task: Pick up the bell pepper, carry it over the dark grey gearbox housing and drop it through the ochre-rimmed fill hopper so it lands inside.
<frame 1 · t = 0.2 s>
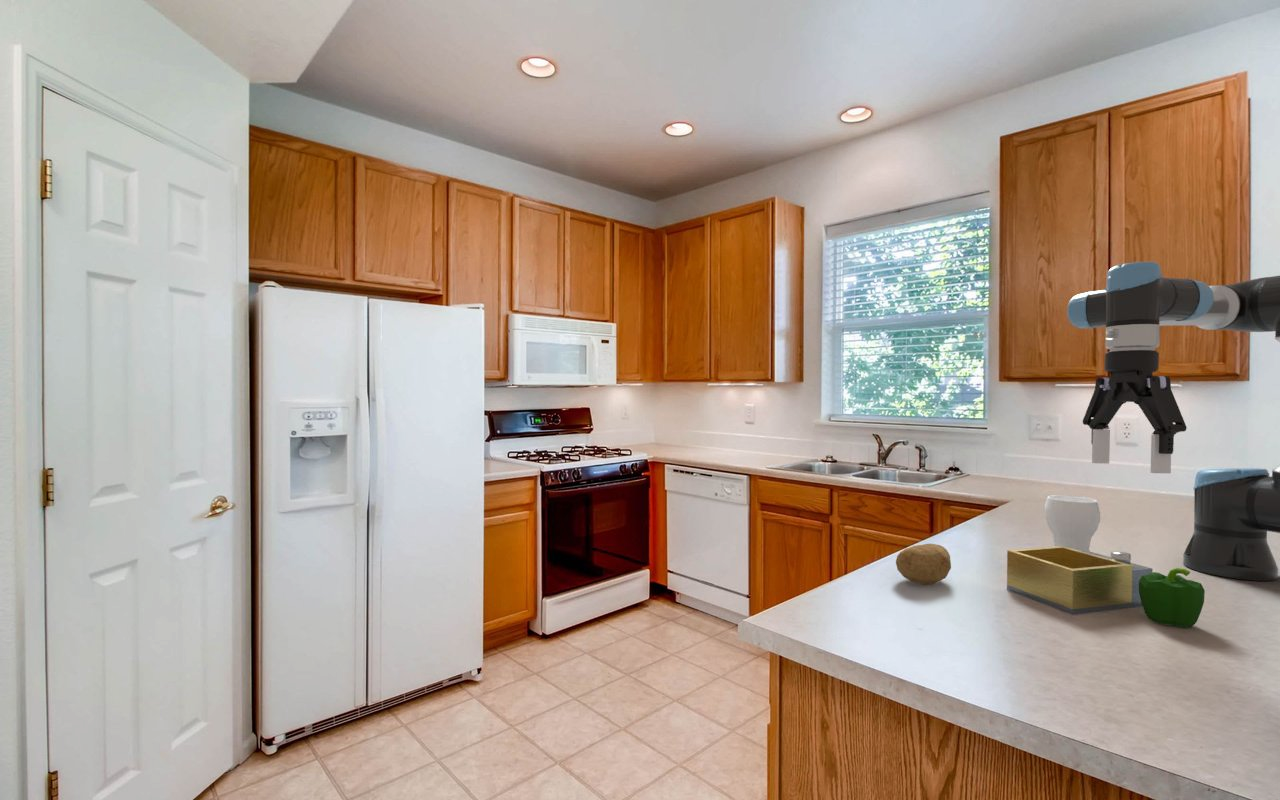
hand: (1128, 468, 107), 27 cm above the counter, fingers open, 13 cm apart
cup: (1071, 562, 140), on the counter
gearbox: (1066, 598, 116), on the counter
bell pepper: (1169, 624, 104), on the counter
potato: (924, 583, 125), on the counter
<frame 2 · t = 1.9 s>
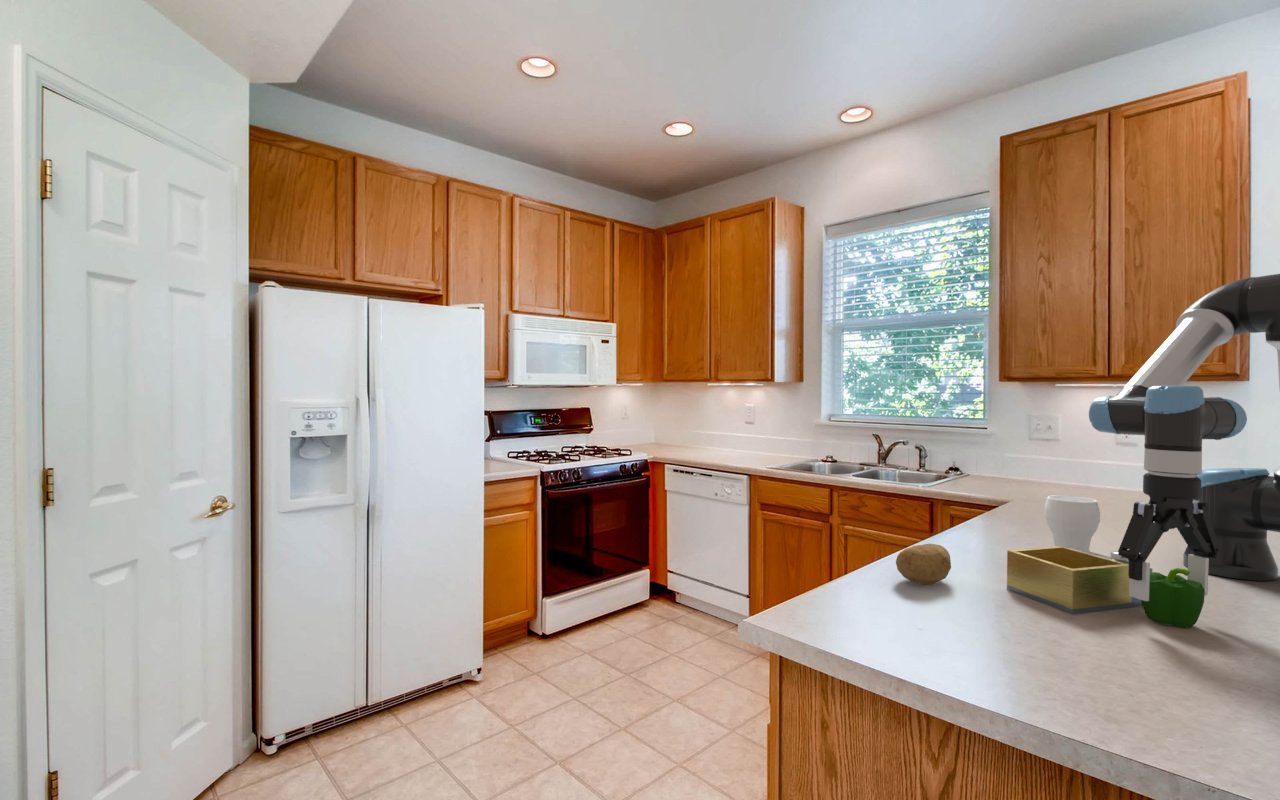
hand: (1168, 595, 103), 5 cm above the counter, fingers open, 13 cm apart
nothing on the counter moved.
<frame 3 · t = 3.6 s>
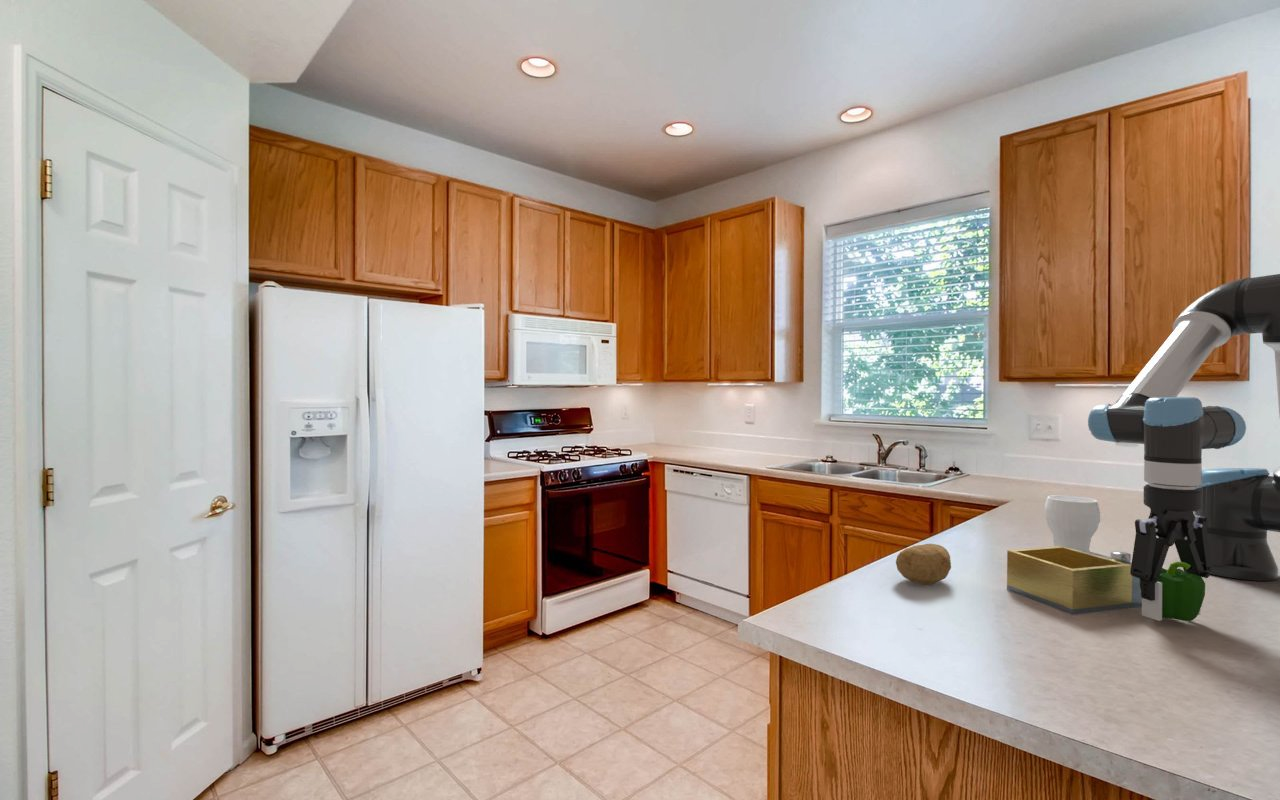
hand: (1171, 614, 104), 1 cm above the counter, fingers closed on bell pepper, 8 cm apart
bell pepper: (1170, 617, 104), point 1 cm above the counter, touching gripper
everything else where it was.
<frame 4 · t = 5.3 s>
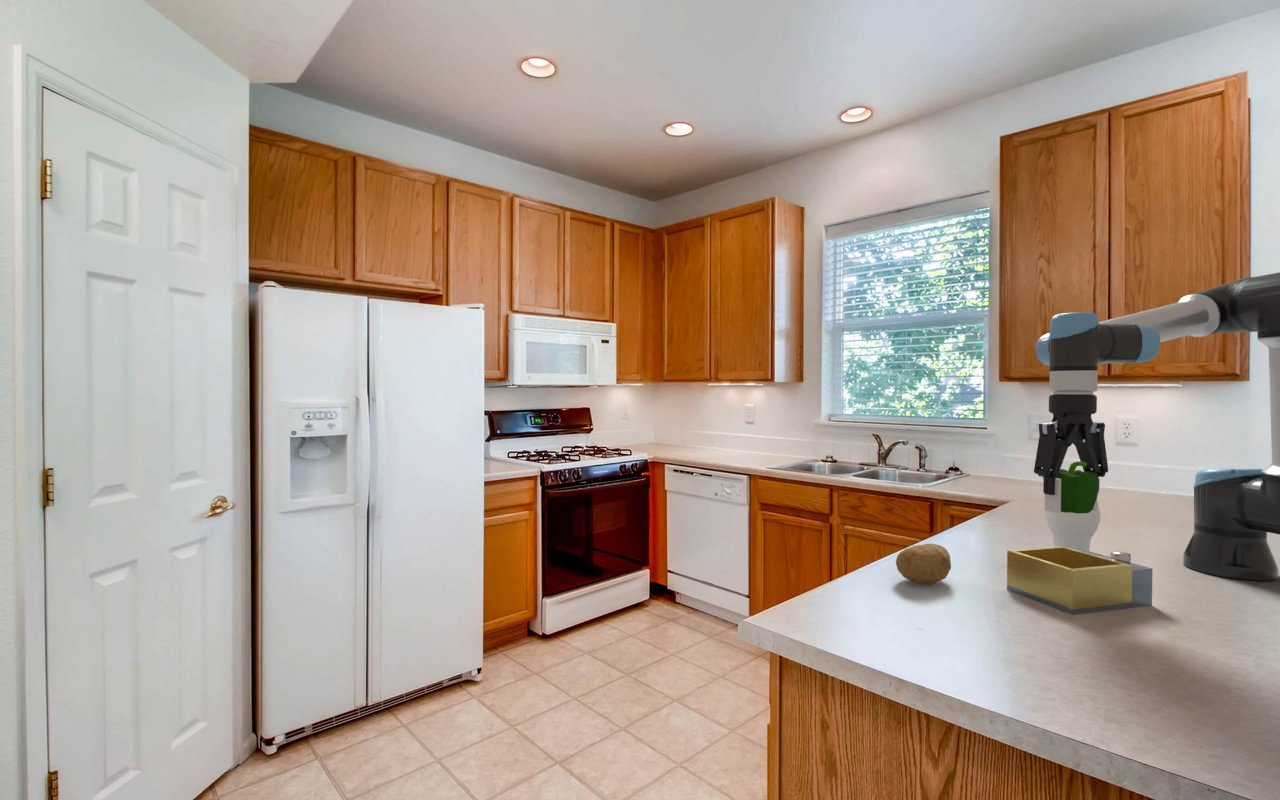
hand: (1070, 510, 115), 17 cm above the counter, fingers closed on bell pepper, 8 cm apart
bell pepper: (1070, 512, 115), point 17 cm above the counter, touching gripper
everything else where it was.
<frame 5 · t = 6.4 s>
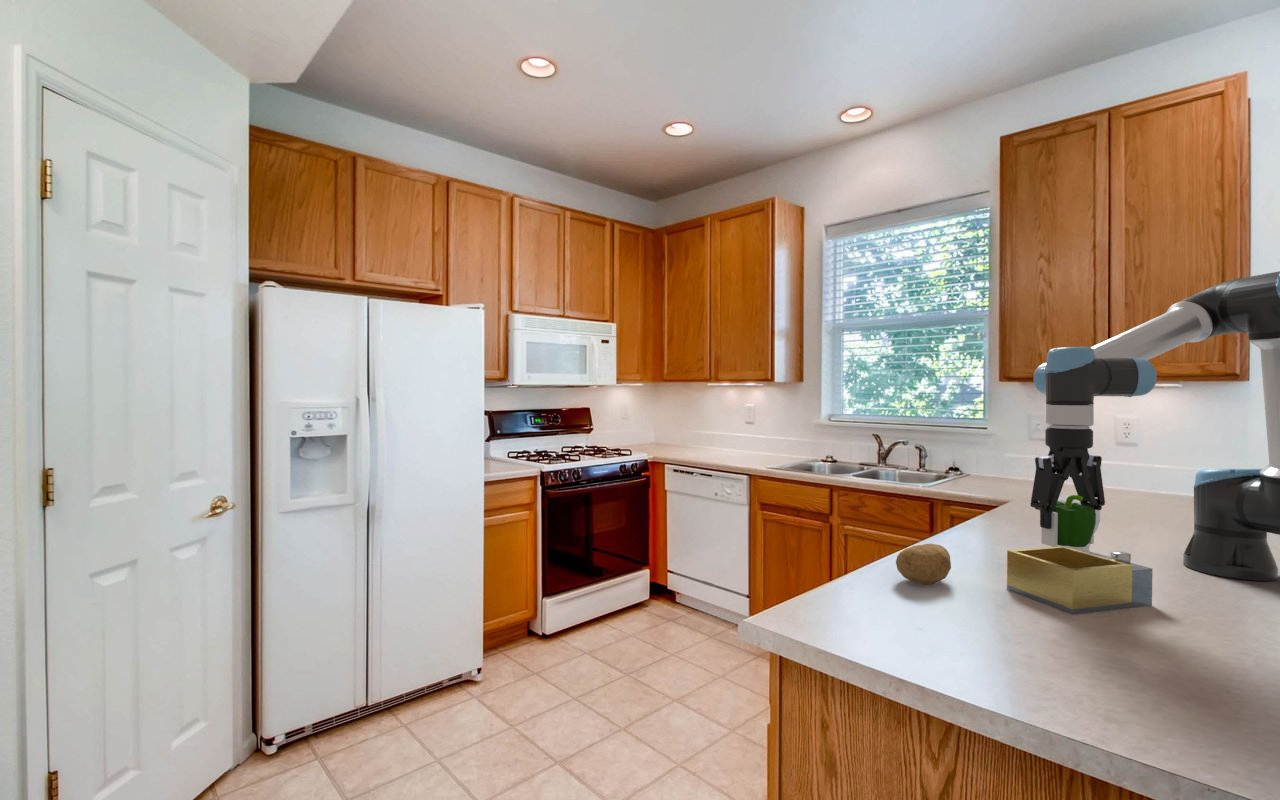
hand: (1067, 543, 116), 11 cm above the counter, fingers closed on bell pepper, 8 cm apart
bell pepper: (1067, 545, 116), point 10 cm above the counter, touching gripper
everything else where it was.
when the fingers open (11 cm above the counter, at t = 6.7 s): bell pepper drops 9 cm, resting on gearbox.
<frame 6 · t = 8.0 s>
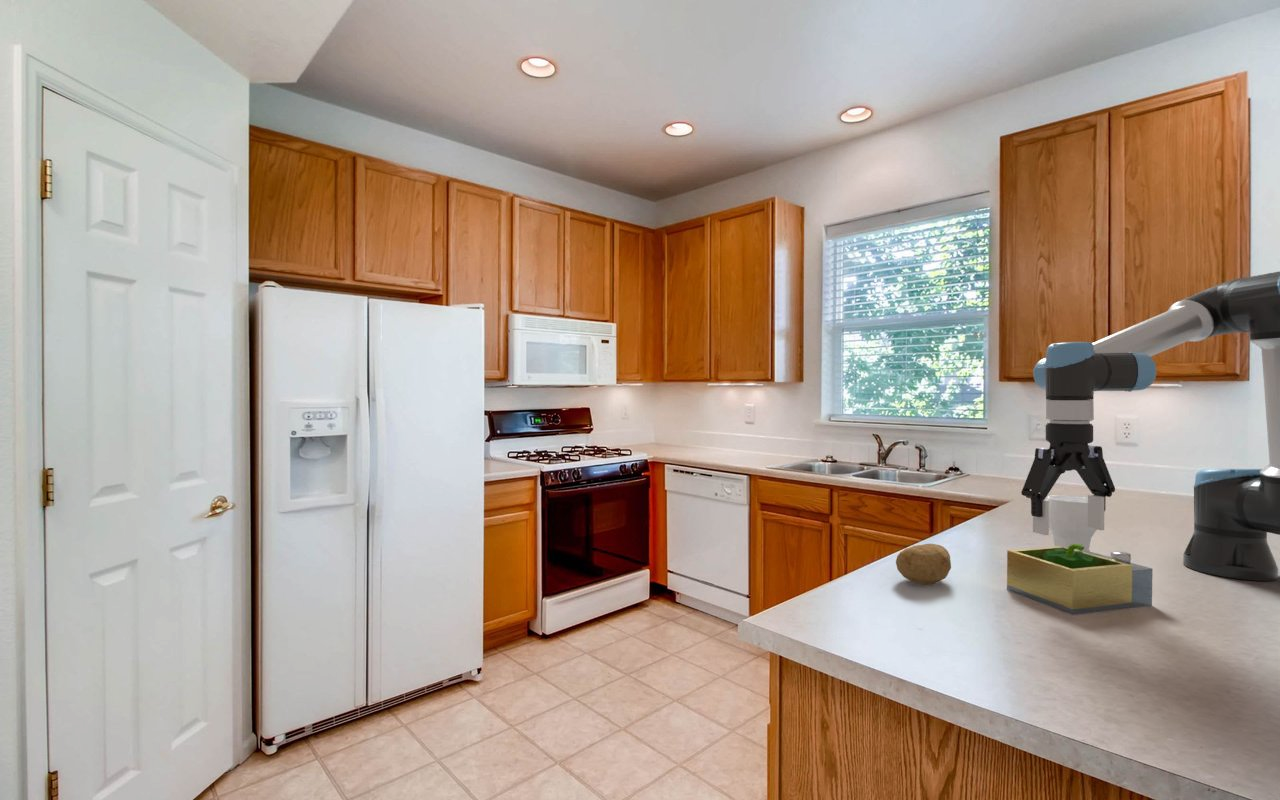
hand: (1068, 531, 116), 13 cm above the counter, fingers open, 13 cm apart
bell pepper: (1068, 594, 116), point 1 cm above the counter, touching gearbox
everything else where it was.
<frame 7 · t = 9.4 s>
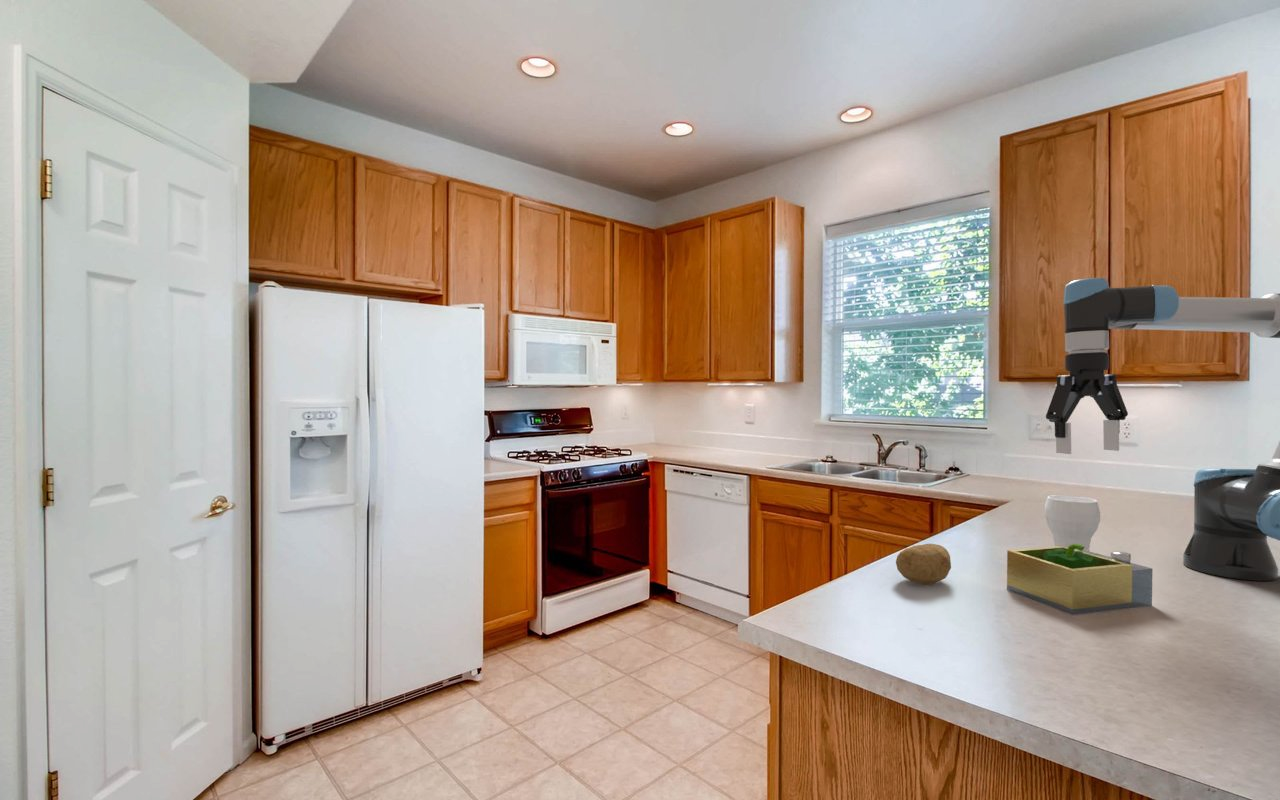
hand: (1087, 451, 127), 27 cm above the counter, fingers open, 13 cm apart
nothing on the counter moved.
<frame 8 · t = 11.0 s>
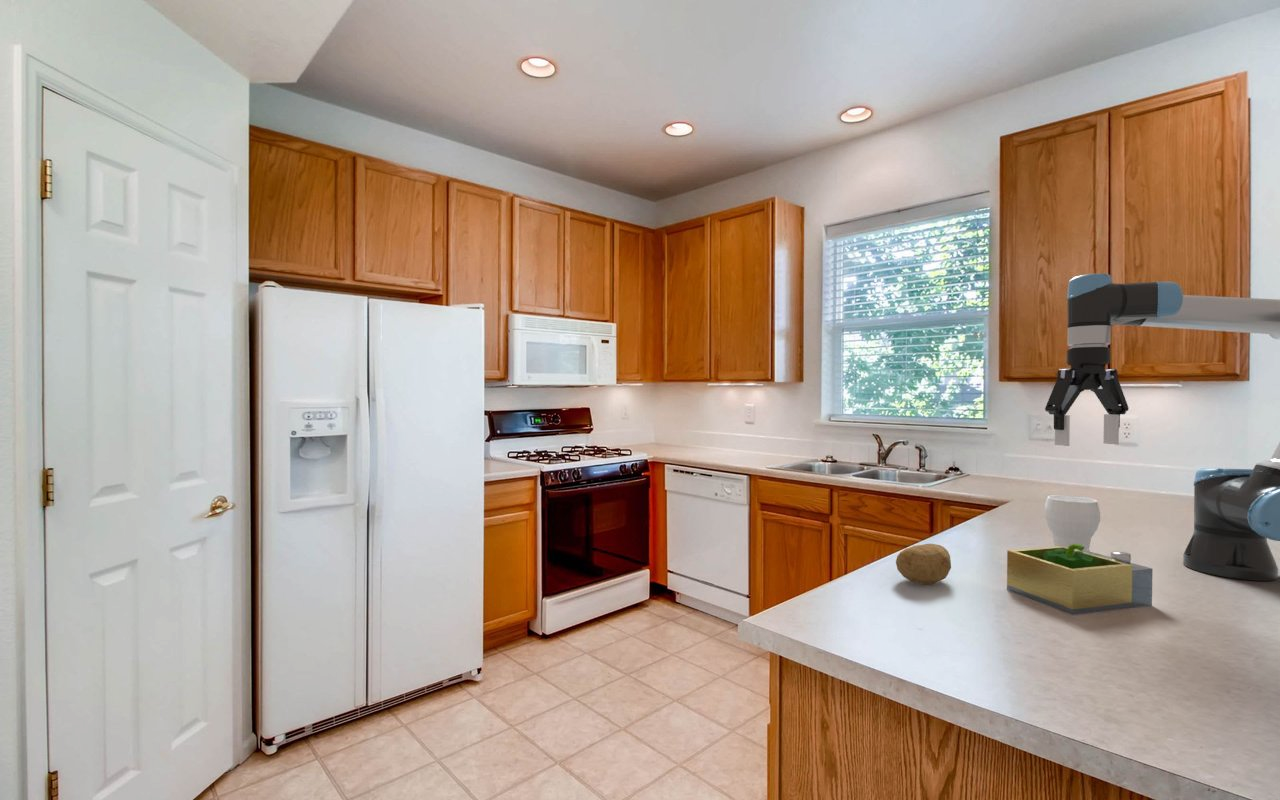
hand: (1086, 444, 129), 29 cm above the counter, fingers open, 13 cm apart
nothing on the counter moved.
at the end: bell pepper inside the target area on the gearbox (0.3 cm from its centre), point 0.8 cm above the gearbox's base; the gripper is holding nothing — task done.
